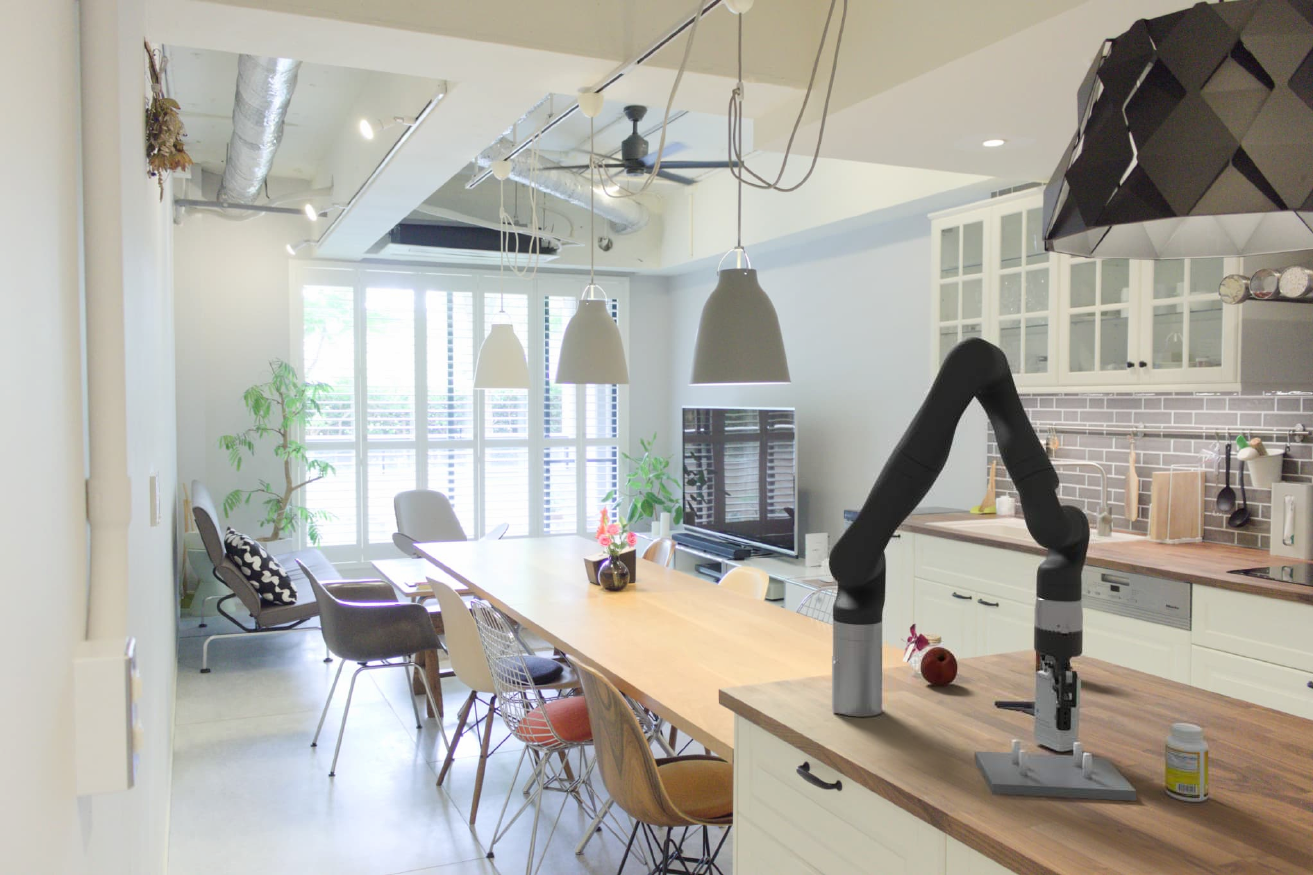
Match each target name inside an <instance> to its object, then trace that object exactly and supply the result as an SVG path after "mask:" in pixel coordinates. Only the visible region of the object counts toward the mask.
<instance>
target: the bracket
mask: <svg viewBox="0 0 1313 875" xmlns="http://www.w3.org/2000/svg"><path fill="white" fill-rule="evenodd" d="M994 706H996V708H997V709H998V708H999V709H1000V710H1001V709H1003V710H1008V711H1014V710H1015V712H1019V711H1022V712H1021V713H1023V712H1025V713H1024V714H1028V713H1030V714H1029V715H1031V716H1034V715H1035V701H1022V700H1021V701H1019V700H1018V701H1016V700H1015V701H1014V700H1013V701H1012V700H1011V701H1010V700H1009V701H1008V700H994ZM1031 708H1032V709H1031Z"/></svg>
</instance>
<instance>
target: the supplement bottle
mask: <svg viewBox="0 0 1313 875" xmlns="http://www.w3.org/2000/svg"><path fill="white" fill-rule="evenodd" d="M1170 734H1171V735H1169V736H1167V737H1166V738H1165V747H1164V748H1165V750H1164V751H1165V757H1164V758H1165V761H1164V762H1165V768H1164V769H1165V772H1164V773H1165V776H1164V778H1165V779H1164V780H1165V784H1164V786H1165V792H1166V793H1167V794H1168V795H1169V796H1170V797H1172V798H1174V799H1176V800H1179V801H1183V802H1189V803H1190V802H1191V803H1199V802H1204V801H1206V800H1207V799H1208V797H1209V744H1208V742H1206V741H1205V740H1203V737H1204V736H1203V728H1202V727H1200V726H1199V725H1196V724H1193V723H1192V724H1191V723H1186V722H1175V723H1173V724H1171V731H1170Z"/></svg>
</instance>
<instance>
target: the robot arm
mask: <svg viewBox="0 0 1313 875" xmlns="http://www.w3.org/2000/svg"><path fill="white" fill-rule="evenodd" d="M942 362H943V363H942V364H941V366H940V368H939V371H938V373H937V375H936V377H935V379H934V381H933V384H932V385H931V387H930V389H929V392H928V393H927V396H926V397H925V400H924V401H923V403H922V404H921V405H920V408H918V410H917V412H916V414H915V415H914V417H912V419H911V421H910V423H909V425H908V426H907V428H906V430H905V432H904V433H903V434H902V436H901V438H900V439H899V441H898V442H897V444H896V446H894V449H893V450H892V452H891V454H890V455H889V457H888V458H887V460H886V462H885V463H884V466H883V467H882V470H881V471H880V474H879V475H878V476H877V478H876V480H875V481H874V484H873V487H872V488H871V490H870V492H869V493H868V496H867V497H866V500H865V502H864V504H863V506H862V507H861V509H860V511H859V512H858V514H857V515H856V517H855V518H854V520H852V522H851V523H850V525H849V526H848V527H847V529H846V530H845V531H844V533H843V534H842V535H841V537H840V538H839V539H838V540H837V542H836V543H835V544H834V545H833V547H832V549H831V551H830V553H829V558H828V567H829V568H828V569H829V572H830V575H831V576H832V578H833V579H834V580H835V582H836V583H837V592H836V596H835V600H834V603H833V605H832V656H831V706H832V712H833V713H834V714H841V715H845V716H850V717H872V716H873V717H874V716H878V715H880V714H881V713H882V712H883V614H884V613H883V612H884V611H883V610H884V606H885V602H886V587H887V586H886V584H887V582H886V580H887V579H886V578H887V558H886V554H885V553H886V552H885V550H886V549H887V546H888V545H889V542H890V540H891V539H892V537H893V535H894V534H895V533H896V531H897V530H898V529H899V527H900V526H901V524H902V523H904V521H905V520H906V519H908V517H909V516H910V515H911V514H912V512H913V511H914V510H915V509H916V508H917V506H919V504H920V503H921V502H922V501H923V499H924V498H925V497H926V495H927V494H928V492H929V491H930V490H931V489H932V487H933V486H934V484H935V482H936V481H937V480H938V477H939V475H940V474H941V472H942V471H943V469H944V468H945V466H946V463H947V461H948V459H949V456H950V452H951V449H952V446H953V442H954V438H955V434H956V430H957V427H958V424H959V421H960V419H961V418H962V416H963V414H964V412H965V411H966V410H967V408H968V407H969V405H970V404H971V402H972V401H973V399H974V398H975V399H976V400H977V401H978V403H979V404H980V405H981V408H983V411H984V412H985V414H986V416H987V418H988V419H989V422H990V424H991V427H992V430H993V434H994V436H995V440H996V443H997V448H998V452H999V455H1000V457H1001V461H1002V463H1003V465H1004V467H1005V470H1006V471H1007V473H1008V475H1009V477H1010V479H1011V482H1012V483H1013V485H1014V488H1015V489H1016V490H1017V493H1018V495H1019V500H1020V501H1019V502H1020V505H1021V510H1022V513H1023V514H1022V515H1023V517H1024V521H1025V526H1026V528H1027V530H1028V532H1029V534H1030V535H1031V537H1032V539H1033V540H1034V541H1035V543H1037V545H1039V546H1041V548H1043V549H1047V551H1046V552H1047V553H1046V558H1045V559H1044V560H1043V561H1042V562H1041V564H1040V565H1039V566H1038V567H1037V570H1036V583H1035V584H1036V589H1035V590H1036V591H1035V592H1036V593H1035V603H1034V604H1035V605H1034V614H1033V615H1034V617H1033V618H1034V622H1033V623H1034V626H1033V627H1034V628H1033V630H1034V631H1033V648H1034V651H1035V653H1036V652H1038V653H1040V671H1042V670H1043V671H1044V672H1047V675H1048V677H1049V680H1050V688H1051V692H1052V693H1053V694H1054V695H1055V704H1056V728H1057V729H1058V730H1061V731H1069V730H1070V729H1071V708H1076V705H1077V677H1078V672H1077V671H1076V670H1074V667H1073V666H1072V665H1071V659H1072V658H1077V657H1079V656H1081V655H1082V654H1083V644H1084V643H1083V642H1084V641H1083V640H1084V639H1083V636H1084V634H1083V631H1084V629H1083V627H1084V626H1083V625H1084V611H1083V610H1084V609H1083V604H1082V602H1083V600H1082V594H1083V593H1082V591H1083V590H1082V588H1083V587H1082V586H1083V584H1082V583H1083V580H1082V575H1083V574H1082V573H1083V569H1084V565H1085V562H1086V558H1087V553H1088V549H1089V544H1090V539H1091V538H1090V536H1091V529H1090V523H1089V520H1088V517H1087V516H1086V514H1085V513H1084V511H1083V510H1082V509H1081V508H1080V507H1077V506H1074V505H1069V504H1064V505H1062V504H1060V500H1059V497H1058V495H1057V492H1056V490H1057V489H1058V487H1059V485H1060V479H1059V478H1060V477H1059V475H1058V474H1057V471H1056V469H1055V467H1054V465H1053V463H1052V461H1051V459H1050V457H1049V455H1048V454H1047V451H1046V450H1045V448H1044V446H1043V444H1042V442H1041V440H1040V439H1039V437H1038V435H1037V433H1036V431H1035V428H1034V427H1033V425H1032V423H1031V421H1030V419H1029V417H1028V414H1026V411H1025V408H1024V406H1023V404H1022V401H1021V398H1020V395H1019V392H1018V389H1017V387H1016V384H1015V381H1014V377H1013V374H1012V370H1011V367H1010V364H1009V362H1008V358H1007V356H1006V354H1005V353H1004V351H1003V350H1002V349H1001V348H1000V347H998V346H996V345H995V344H993V343H991V342H989V341H987V340H985V339H984V338H980V337H974V336H973V337H972V336H970V337H966V338H963V339H962V340H961V339H960V340H959V341H958V342H956V343H955V344H954V345H952V347H951V348H950V350H948V352H947V354H946V356H945V358H944V359H943V361H942ZM1058 684H1059V687H1056V685H1058ZM1065 693H1066V694H1067V699H1068V700H1067V699H1064V694H1065Z"/></svg>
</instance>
